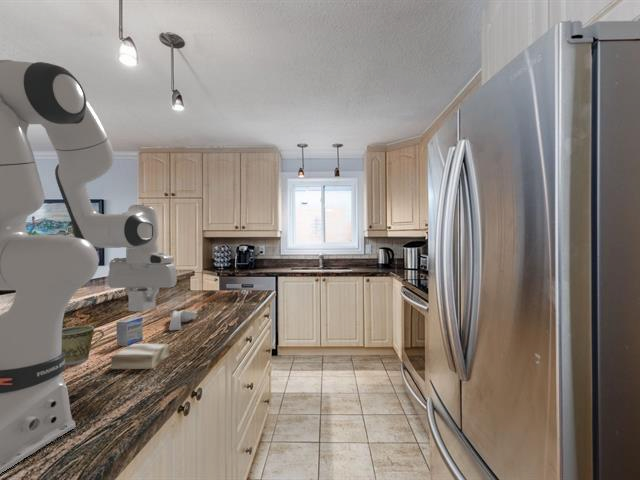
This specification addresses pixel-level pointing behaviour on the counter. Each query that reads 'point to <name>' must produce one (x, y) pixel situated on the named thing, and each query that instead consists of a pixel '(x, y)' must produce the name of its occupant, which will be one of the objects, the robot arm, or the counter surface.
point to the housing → (140, 300)
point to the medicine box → (129, 331)
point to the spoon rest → (180, 318)
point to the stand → (140, 356)
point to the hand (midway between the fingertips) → (142, 301)
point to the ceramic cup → (77, 343)
